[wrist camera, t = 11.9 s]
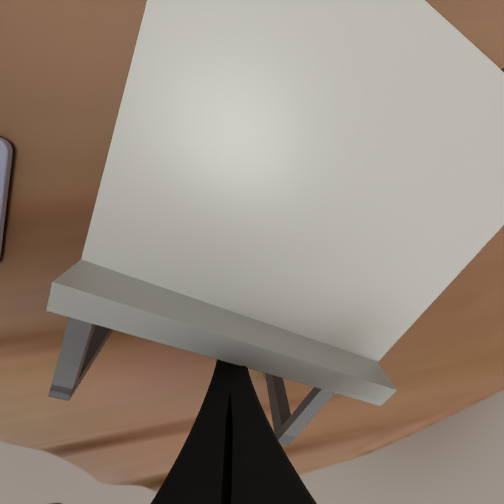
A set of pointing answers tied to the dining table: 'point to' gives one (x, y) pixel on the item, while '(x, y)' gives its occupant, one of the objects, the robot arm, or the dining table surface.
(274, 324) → the lid
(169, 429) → the dining table surface
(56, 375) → the grey base stand
